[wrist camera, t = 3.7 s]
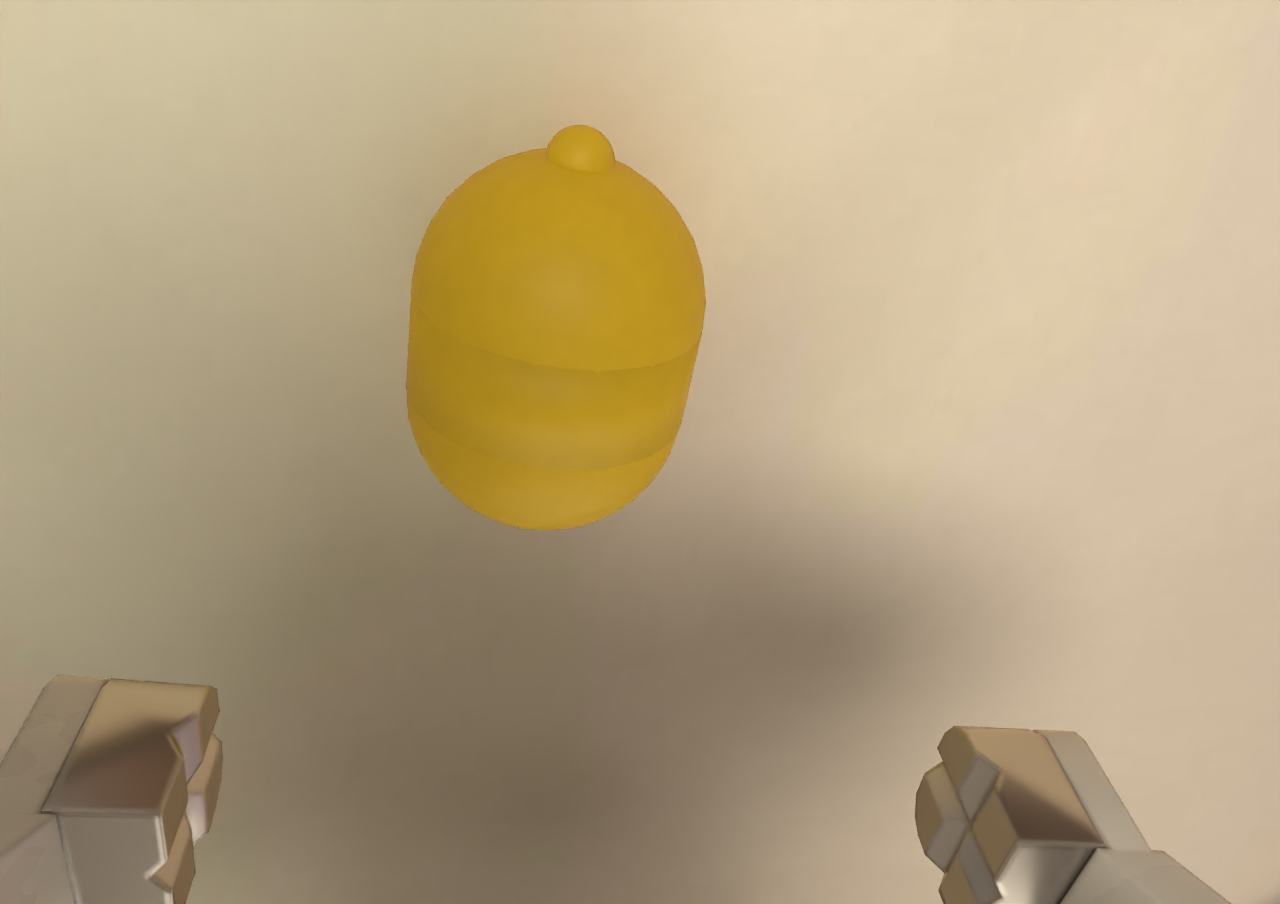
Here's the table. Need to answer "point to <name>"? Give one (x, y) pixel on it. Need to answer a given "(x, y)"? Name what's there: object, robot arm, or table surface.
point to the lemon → (552, 335)
